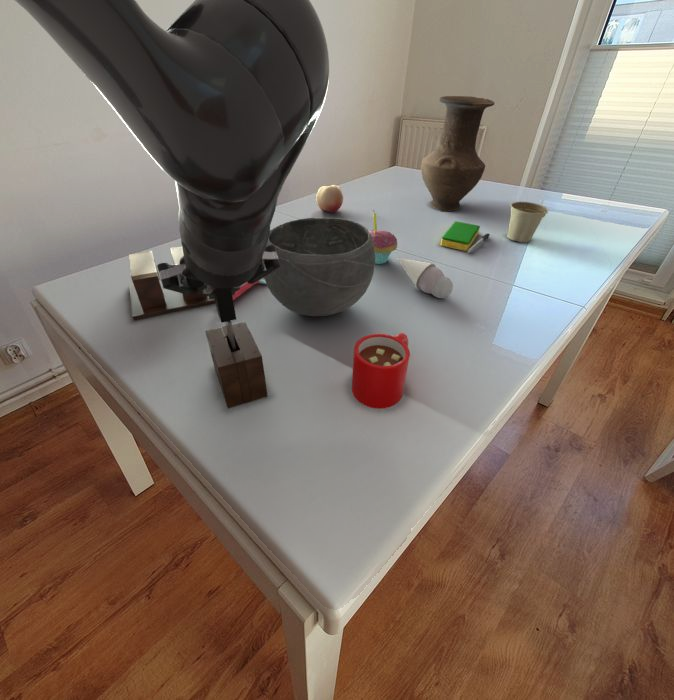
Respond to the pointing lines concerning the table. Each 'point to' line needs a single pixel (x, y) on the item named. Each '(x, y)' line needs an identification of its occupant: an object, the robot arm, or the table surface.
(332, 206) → the fruit
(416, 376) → the table surface
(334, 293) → the bowl
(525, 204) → the flower pot
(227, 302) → the black block with pin
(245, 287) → the pink plastic rod
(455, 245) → the dish sponge
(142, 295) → the slotted block
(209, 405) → the table surface
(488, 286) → the table surface
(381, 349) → the mug
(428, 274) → the ice cream cone
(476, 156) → the vase
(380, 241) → the cupcake
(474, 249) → the knife
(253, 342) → the knife block
